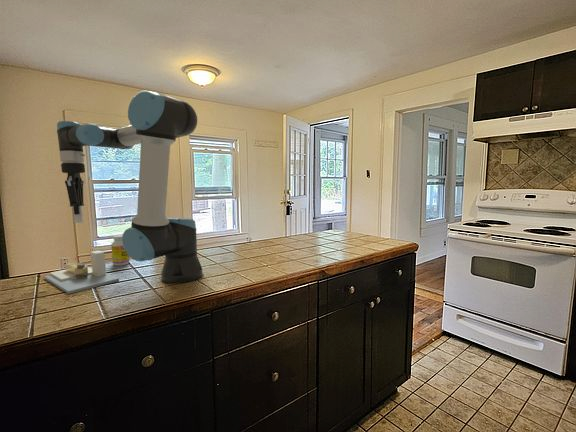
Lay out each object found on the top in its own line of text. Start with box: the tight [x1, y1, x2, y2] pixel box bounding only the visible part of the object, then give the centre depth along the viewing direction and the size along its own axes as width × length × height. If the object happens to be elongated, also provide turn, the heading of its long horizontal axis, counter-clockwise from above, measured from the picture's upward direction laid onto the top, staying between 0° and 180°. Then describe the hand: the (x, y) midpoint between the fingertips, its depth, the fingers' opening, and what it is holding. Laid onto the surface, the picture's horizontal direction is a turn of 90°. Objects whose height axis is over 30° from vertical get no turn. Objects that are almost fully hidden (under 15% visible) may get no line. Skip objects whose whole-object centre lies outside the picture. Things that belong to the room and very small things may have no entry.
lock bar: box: [64, 261, 89, 276], centre depth 115 cm, size 14×4×3 cm, turn 54°
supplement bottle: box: [111, 234, 130, 267], centre depth 134 cm, size 7×7×13 cm
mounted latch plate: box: [43, 250, 120, 295], centre depth 113 cm, size 26×16×10 cm, turn 53°
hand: (78, 222), depth 120 cm, fingers closed
